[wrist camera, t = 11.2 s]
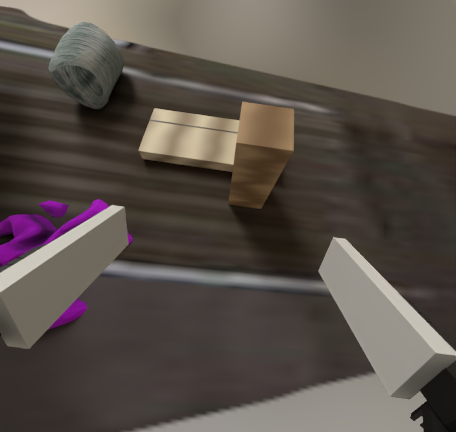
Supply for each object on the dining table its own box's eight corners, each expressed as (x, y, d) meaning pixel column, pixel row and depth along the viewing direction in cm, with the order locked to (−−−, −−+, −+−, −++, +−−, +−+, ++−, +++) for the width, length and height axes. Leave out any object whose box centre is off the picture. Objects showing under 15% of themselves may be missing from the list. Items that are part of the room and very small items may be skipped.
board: (143, 159, 30) (138, 150, 28) (158, 118, 33) (154, 108, 31) (276, 178, 30) (280, 171, 28) (278, 135, 33) (282, 126, 31)
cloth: (147, 209, 28) (128, 190, 22) (86, 354, 21) (37, 380, 16) (8, 177, 29) (-45, 150, 23) (-92, 307, 22) (-201, 315, 16)
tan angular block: (228, 204, 28) (236, 142, 16) (238, 138, 33) (250, 51, 21) (261, 208, 28) (293, 150, 16) (266, 142, 33) (294, 57, 21)
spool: (109, 107, 29) (42, 22, 22) (76, 122, 33) (9, 55, 26) (149, 75, 37) (108, 5, 30) (117, 91, 41) (75, 32, 34)
